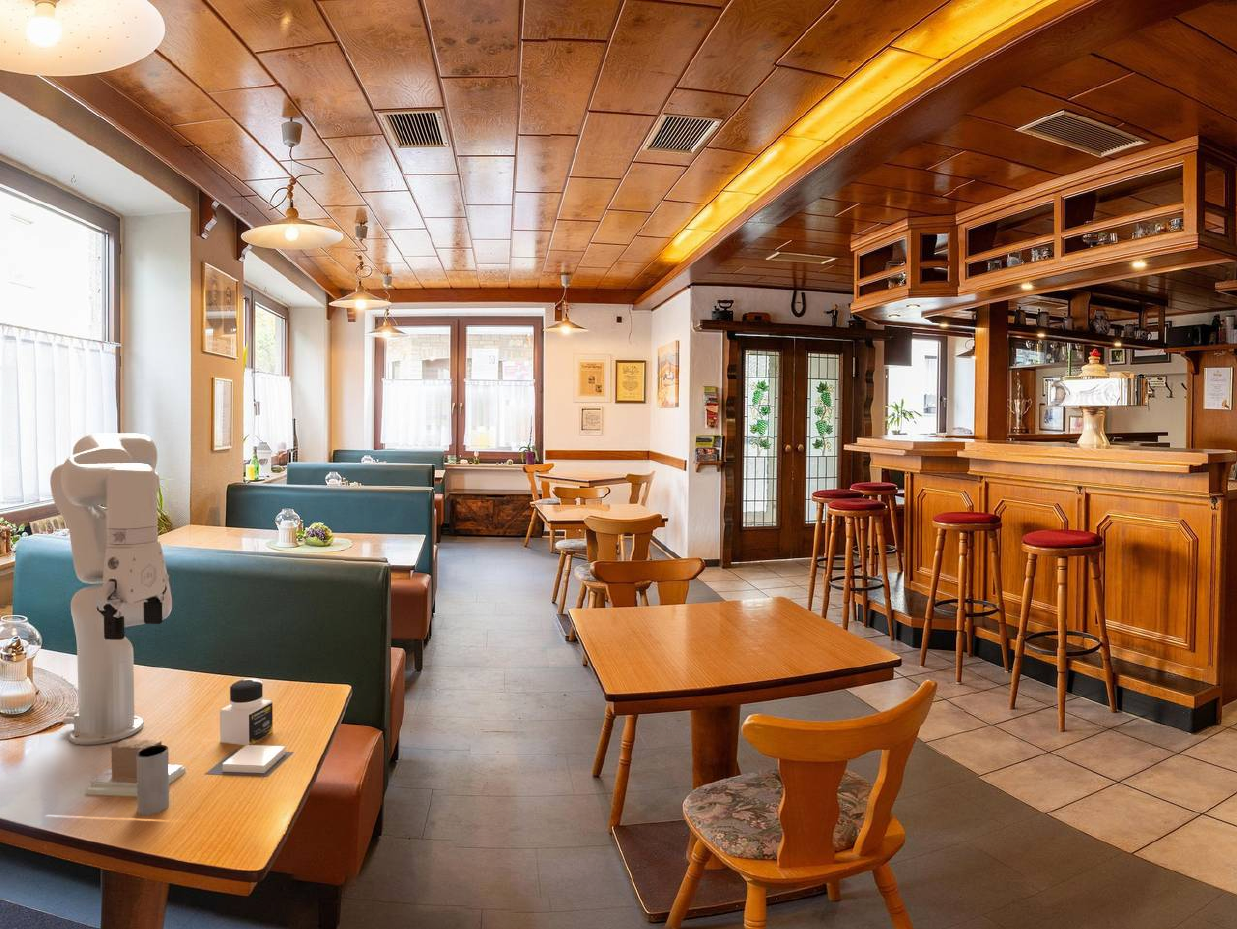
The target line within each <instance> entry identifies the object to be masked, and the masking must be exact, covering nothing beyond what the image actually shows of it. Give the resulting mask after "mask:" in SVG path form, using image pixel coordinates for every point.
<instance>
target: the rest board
mask: <svg viewBox="0 0 1237 929" xmlns="http://www.w3.org/2000/svg"><path fill="white" fill-rule="evenodd" d="M185 773H186V767H185V766H182V770H181V771H179V772H178V773H177V774H175V775H174V776H173V777H171V778H170V779H169V785H170V784H172V783H174V781H176V780H177V779H178V778H179V777H182V775H184V774H185ZM85 795H90V796H91V795H94V796H96V795H98V796H113V797H114V796H117V797H119V796H120V797H137V788H130V787H106V786H90V785H89V786H88V787H87V788H85Z"/></svg>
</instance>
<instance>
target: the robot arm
mask: <svg viewBox="0 0 1237 929" xmlns="http://www.w3.org/2000/svg"><path fill="white" fill-rule="evenodd" d="M157 462H158V450H157V446H156V444H155V442H154V441H153V440H152V439H151V437H149V436H147V435H146V434H142V433H141V434H140V433H94V434H89V435H85V436H83V437H82V438H80V439H78V440H77V442H76V443H75V444H74V446H73V450H72V455H71V456H69V457H68V458H66V459H65V461H64V462H63V464H59V465H57V466H56V467H55V468H54V469H52V472H51V473H50V477H49V478H50V480H49V481H50V491H51V497H52V499H53V502H54V505H55V506H56V509H57V511H58V512H59V514H60V515H61V517H62V519H63V521H64V523H65V524H66V526H67V528H68V533H69V537H70V538H69V540H70V546H71V554H72V555H71V556H72V561H73V567H74V571H75V575H76V577H77V579H78V580H79V581H81V582H82V583H84V584H93V585H90V586H86V587H83V588H81V589H79V590H78V591H76V592H75V593H74V594H73V596H72V598H71V602H70V611H71V612H70V614H71V618H72V621H73V622H72V623H73V628H74V633H75V638H76V654H77V658H76V659H77V688H78V690H77V692H78V693H77V694H78V695H77V696H78V698H77V700H78V710H74V709H73V710H68V711H67V712H66V715H65V716H64V718H63V720H62V724H65V725H66V724H67V725H72V724H73V729H72V730H71V731H70V733H69V741H70V742H72V743H73V744H76V745H83V746H92V745H101V744H102V745H103V744H108V743H112V742H117V741H119V740H120V741H121V740H124V739H127V738H129V737H131V736H133V735H135V734H136V733H138V732H139V731H141V730H142V728H143V727H144V719H143V718H141V717H140V716H137V715H135V680H134V678H135V676H134V673H135V672H134V671H135V670H134V647H133V644H132V643H131V641H130V640H129V639H128V638H127V637H126V636H125V628H127V627H132V626H140V625H144V624H145V625H147V624H149V625H161V624H162V623H163V620H165V619H167V618H168V617H169V616H170V614H171V612H172V608H173V598H172V592H171V591H172V590H171V586H170V581H169V579H170V575H169V574H168V572H167V571H168V570H167V567H166V560H165V556H164V552H163V548H162V545H161V541H160V540H159V528H158V527H159V521H158V519H159V518H158V517H159V516H158V512H159V511H158V494H159V491H160V485H161V484H160V476H159V474H158V472H157V471H156V467H157ZM102 506H105V507H106V509H105V508H103V507H102Z"/></svg>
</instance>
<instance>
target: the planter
mask: <svg viewBox="0 0 1237 929" xmlns="http://www.w3.org/2000/svg"><path fill="white" fill-rule="evenodd" d="M169 761H170V758H169V747H168V746H167V745H164V744H162V745H154V746H149V747H146V748H143V749H141V750H140V751H138V752H137V796H136V798H137V806H136V807H137V813H138V814H139V815H140V816H151V815H156V814H158V813H161V812H163V811H165V810H166V809H168V807H170V784H169V765H170V764H169V763H170V762H169Z"/></svg>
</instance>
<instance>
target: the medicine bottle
mask: <svg viewBox="0 0 1237 929" xmlns="http://www.w3.org/2000/svg"><path fill="white" fill-rule="evenodd" d="M263 684H264V683H263V681H262V680H260V679H255V678H246V679H240V680H238V681H236V682H235V681H234V682H233V683H232V684H231V686H230V687H229V703H230V704H229V705H227V706H225V707H222V708H220V710H219V732H220V734H219V735H220V736H219V737H220V738H219V741H220V743H222V744H231V745H238V746H239V745H240V746H245V745H255V743H257V742H259V741H260V740H263V738H266V737H267V736H268V735H270V734H272V733H273V732H274V730H273V728H274V727H273V722H274V721H273V700H270V699H264V689H263Z"/></svg>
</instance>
